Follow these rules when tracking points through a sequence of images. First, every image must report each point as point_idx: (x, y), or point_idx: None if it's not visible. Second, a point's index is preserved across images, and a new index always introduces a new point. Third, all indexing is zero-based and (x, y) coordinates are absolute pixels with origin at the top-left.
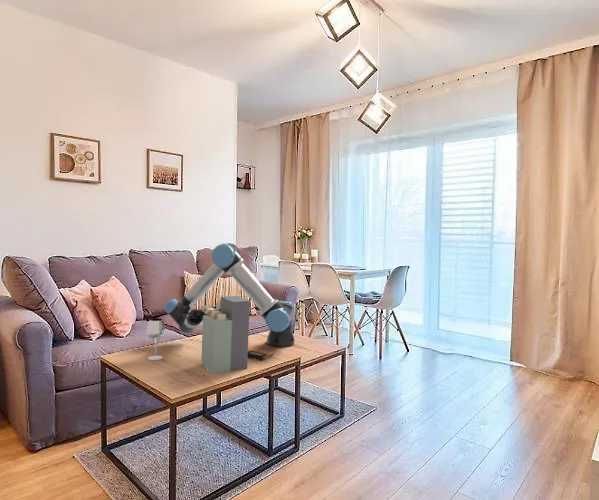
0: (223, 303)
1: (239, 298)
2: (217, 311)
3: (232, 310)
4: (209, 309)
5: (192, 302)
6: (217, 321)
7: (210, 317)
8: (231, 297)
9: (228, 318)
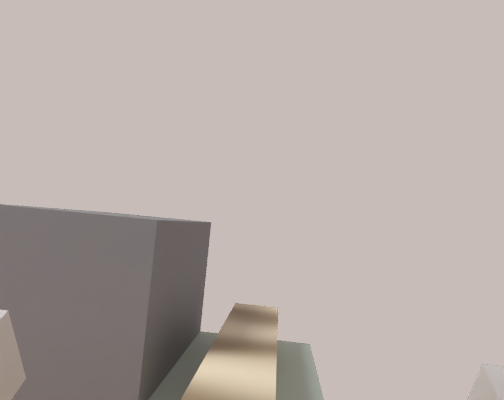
0: (173, 270)
1: (87, 211)
2: (237, 330)
3: (205, 272)
4: (267, 367)
5: (495, 371)
6: (287, 343)
7: (290, 386)
8: (101, 213)
9: (188, 346)
